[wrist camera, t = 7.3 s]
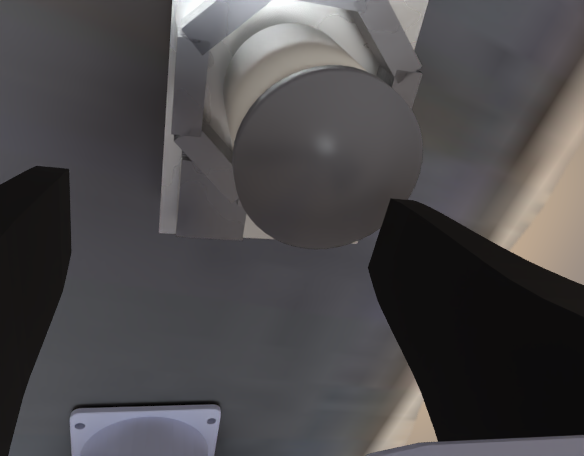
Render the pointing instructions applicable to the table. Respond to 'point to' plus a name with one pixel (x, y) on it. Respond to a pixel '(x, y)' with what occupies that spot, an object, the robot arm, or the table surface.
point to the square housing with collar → (210, 101)
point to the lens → (316, 139)
